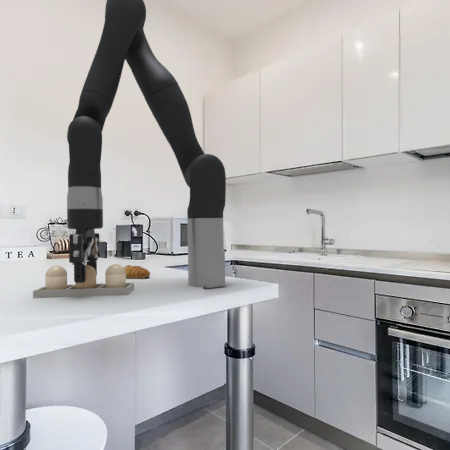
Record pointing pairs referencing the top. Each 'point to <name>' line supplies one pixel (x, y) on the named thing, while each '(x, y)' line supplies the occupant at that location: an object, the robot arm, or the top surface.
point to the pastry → (136, 272)
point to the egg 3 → (115, 276)
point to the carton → (83, 291)
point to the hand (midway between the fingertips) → (86, 279)
